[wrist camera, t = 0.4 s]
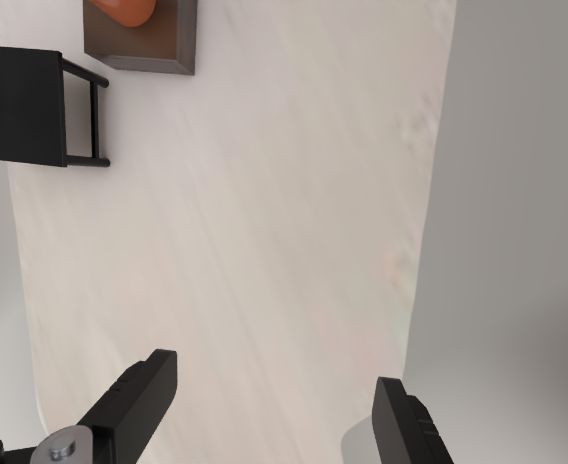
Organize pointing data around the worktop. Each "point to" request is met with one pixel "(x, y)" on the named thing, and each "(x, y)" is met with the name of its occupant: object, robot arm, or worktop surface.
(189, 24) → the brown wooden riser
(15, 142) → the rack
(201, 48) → the worktop surface
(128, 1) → the cup
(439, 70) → the worktop surface
